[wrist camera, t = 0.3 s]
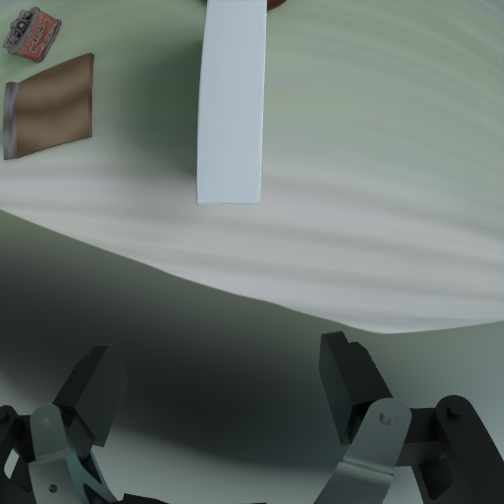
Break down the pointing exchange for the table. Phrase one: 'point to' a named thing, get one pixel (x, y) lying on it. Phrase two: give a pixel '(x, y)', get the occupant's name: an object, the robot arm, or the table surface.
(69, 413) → the robot arm
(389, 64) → the table surface
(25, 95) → the shelf board
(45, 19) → the lighter
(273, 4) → the cup and saucer
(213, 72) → the skincare box
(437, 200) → the table surface
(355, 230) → the table surface
